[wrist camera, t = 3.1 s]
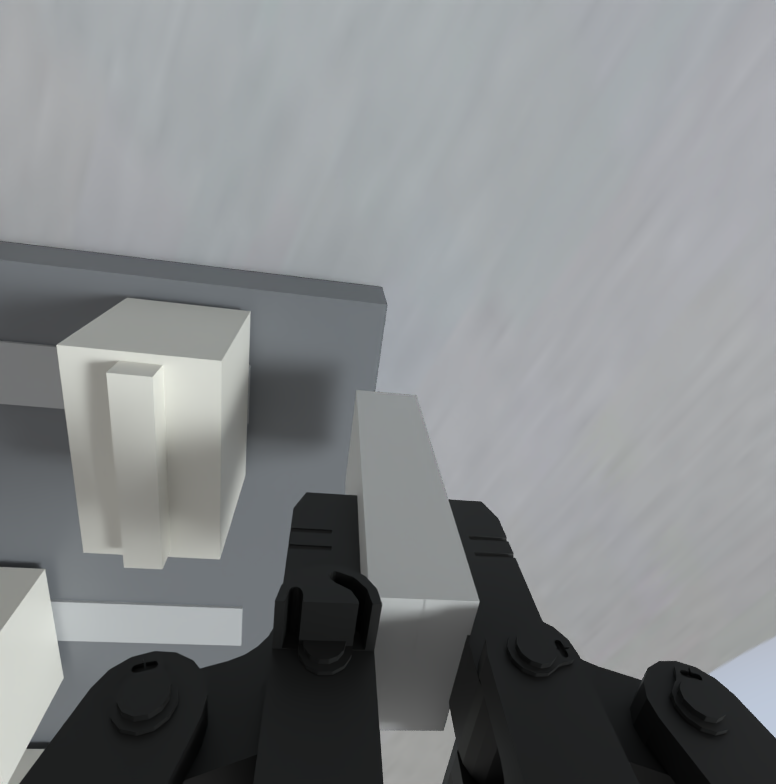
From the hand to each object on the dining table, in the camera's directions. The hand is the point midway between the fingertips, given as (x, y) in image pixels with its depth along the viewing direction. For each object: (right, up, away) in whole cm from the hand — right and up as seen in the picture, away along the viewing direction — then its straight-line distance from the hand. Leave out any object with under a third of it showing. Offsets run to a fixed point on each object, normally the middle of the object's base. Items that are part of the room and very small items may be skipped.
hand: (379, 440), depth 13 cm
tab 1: (-5, +1, +1) cm, 5 cm away
